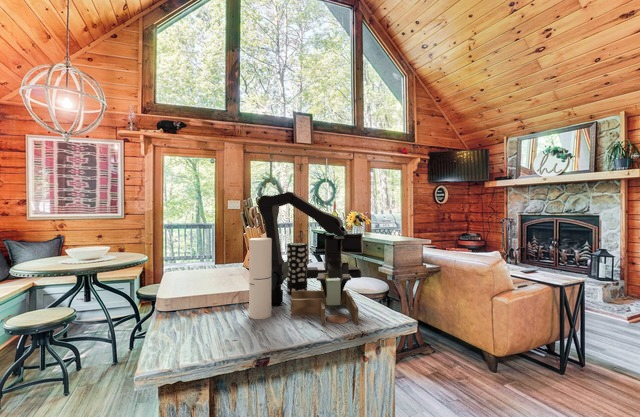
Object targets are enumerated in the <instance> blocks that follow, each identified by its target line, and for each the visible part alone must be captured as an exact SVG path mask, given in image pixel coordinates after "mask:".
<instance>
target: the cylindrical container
mask: <svg viewBox="0 0 640 417" xmlns="http://www.w3.org/2000/svg"><path fill="white" fill-rule="evenodd" d="M248 246H249V247H248V248H249V249H248V253H249V255H248V256H249V260H248V261H249V262H248V263H249V264H248V268H249V269H248V272H249V273H248V274H249V276H248V282H249V283H248V285H249V286H248V298H249V299H248V301H249V302H248V306H249V307H248V317H249V318H251V319H253V320H264V319H268V318H271V316H272V306H271V250H272V239H271V238H267V237H253V238H249V239H248Z"/></svg>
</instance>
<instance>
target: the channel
mask: <svg viewBox="0 0 640 417" xmlns="http://www.w3.org/2000/svg"><path fill="white" fill-rule="evenodd" d="M325 305H327V303H326V297H325V293H324V290H321V289H318V290H316V289H315V290H311V289H310V290H308V289H307V291H292V295H291V299H290V316H309V315H310V316H314V315H315V316H317V315H319V317H320V322H321V326H326V319H327V321H328V322H329V323H333V324H346V323H348V322H349V321H350V317H351V319H352V321H353V324H354V325H355V326H358V325H359V307H358V305H357V304H356V301H355V300H354V298H353V296H352V294H351V293H350V291H349V290H348V289H343V292H342V295H341V297H340V305H344V306H345V307H346V309H347V311H348V313H349V315H350V317H349V316H348V315H345V314H339V313H337V314H334V313H333V314H330V315H328V316H327V317H326V306H325ZM327 306H328V305H327Z"/></svg>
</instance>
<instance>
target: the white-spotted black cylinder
mask: <svg viewBox="0 0 640 417" xmlns="http://www.w3.org/2000/svg"><path fill="white" fill-rule="evenodd" d="M286 248H287V250H286V251H287V252H286V255H287V257H286V259H287V261H288V269H289V271H290V272H288V277H287V278H286V293H287V294H288V295H291V296H292V291H308V278H306V269H307V268H308V248H309V247H308V243H306V242H304V243H303V242H290V243H287V244H286Z"/></svg>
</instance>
